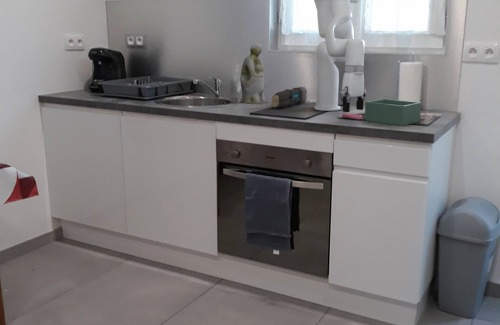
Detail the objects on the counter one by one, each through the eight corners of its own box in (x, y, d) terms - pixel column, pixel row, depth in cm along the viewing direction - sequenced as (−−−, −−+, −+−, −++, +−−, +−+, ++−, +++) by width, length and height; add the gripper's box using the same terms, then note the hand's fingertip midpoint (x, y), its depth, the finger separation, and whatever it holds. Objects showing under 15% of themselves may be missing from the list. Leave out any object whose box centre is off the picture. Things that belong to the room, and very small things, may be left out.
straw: (340, 117, 225) (341, 113, 225) (343, 117, 226) (343, 112, 226) (360, 120, 218) (360, 115, 218) (363, 119, 219) (363, 115, 219)
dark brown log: (266, 114, 250) (295, 99, 274) (278, 119, 248) (306, 103, 271) (270, 93, 245) (298, 80, 269) (282, 97, 243) (310, 83, 266)
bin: (364, 120, 218) (365, 101, 216) (382, 116, 227) (383, 98, 225) (402, 125, 206) (403, 106, 204) (419, 121, 215) (421, 102, 213)
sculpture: (253, 104, 266) (253, 43, 258) (235, 101, 276) (234, 43, 269) (269, 102, 273) (269, 43, 266) (251, 99, 283) (251, 42, 276)
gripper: (358, 68, 225) (357, 108, 229) (334, 70, 214) (333, 112, 217) (373, 69, 220) (372, 109, 224) (349, 70, 208) (348, 113, 212)
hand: (352, 110), depth 221 cm, fingers open, 9 cm apart
